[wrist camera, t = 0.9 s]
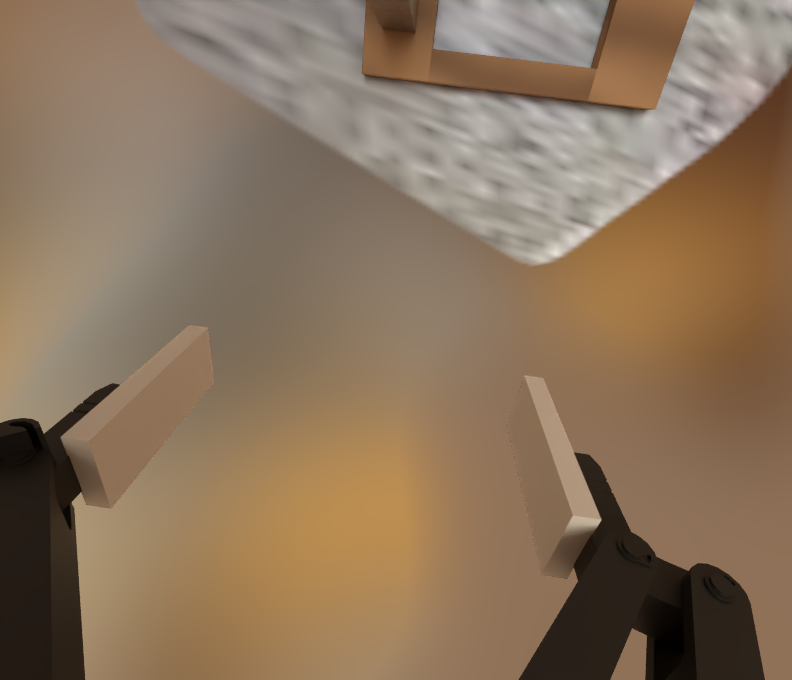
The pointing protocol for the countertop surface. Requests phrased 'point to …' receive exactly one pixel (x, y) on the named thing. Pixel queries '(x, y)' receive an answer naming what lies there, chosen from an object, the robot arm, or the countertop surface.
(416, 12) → the hook post
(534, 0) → the countertop surface
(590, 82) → the brown u-shaped bracket
